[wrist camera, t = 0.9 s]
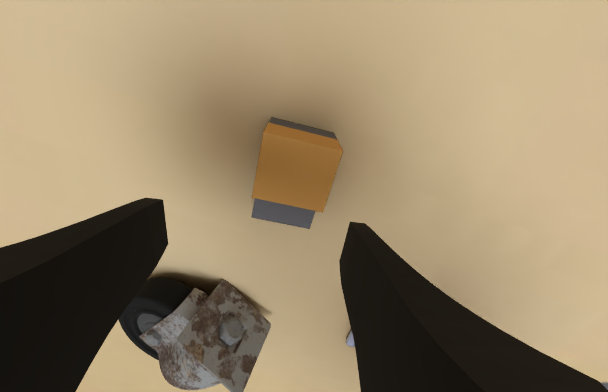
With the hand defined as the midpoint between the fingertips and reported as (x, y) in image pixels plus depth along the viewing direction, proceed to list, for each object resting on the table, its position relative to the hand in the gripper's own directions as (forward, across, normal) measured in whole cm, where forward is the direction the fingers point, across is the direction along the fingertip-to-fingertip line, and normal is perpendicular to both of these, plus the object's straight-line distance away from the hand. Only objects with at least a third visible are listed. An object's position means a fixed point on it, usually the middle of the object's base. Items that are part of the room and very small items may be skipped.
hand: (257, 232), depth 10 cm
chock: (+10, -1, +1) cm, 10 cm away
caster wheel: (+10, +6, +17) cm, 20 cm away
